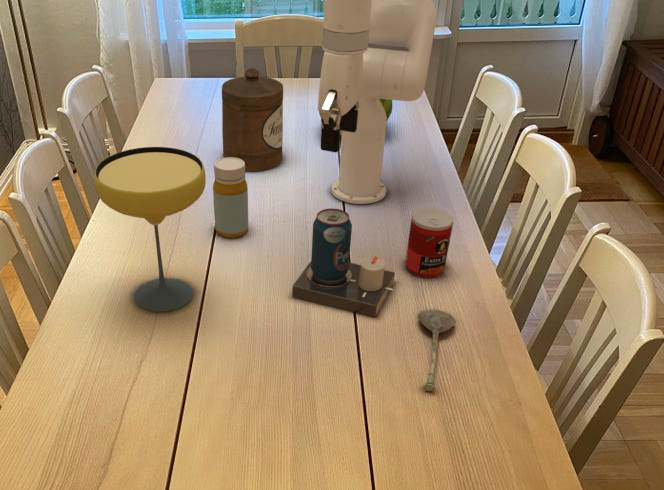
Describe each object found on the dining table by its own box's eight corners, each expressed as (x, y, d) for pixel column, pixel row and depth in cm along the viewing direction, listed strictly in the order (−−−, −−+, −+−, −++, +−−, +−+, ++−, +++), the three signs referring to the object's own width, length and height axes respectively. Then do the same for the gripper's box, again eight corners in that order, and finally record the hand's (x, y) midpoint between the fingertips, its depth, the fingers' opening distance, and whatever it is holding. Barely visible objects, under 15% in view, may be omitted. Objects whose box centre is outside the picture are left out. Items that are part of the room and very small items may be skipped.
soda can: (342, 287, 130) (347, 228, 123) (306, 280, 132) (308, 221, 124) (351, 267, 135) (356, 210, 128) (316, 261, 137) (319, 204, 129)
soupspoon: (455, 319, 129) (418, 315, 130) (457, 303, 127) (420, 299, 128) (449, 395, 112) (406, 389, 113) (451, 378, 110) (408, 372, 111)
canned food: (421, 282, 137) (429, 231, 130) (396, 262, 142) (403, 212, 135) (453, 272, 139) (462, 221, 133) (427, 253, 145) (436, 203, 138)
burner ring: (316, 259, 138) (316, 258, 138) (357, 269, 136) (357, 267, 135) (300, 281, 132) (300, 280, 132) (343, 292, 130) (343, 290, 129)
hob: (292, 297, 133) (292, 285, 131) (314, 265, 141) (315, 253, 140) (382, 319, 127) (383, 306, 126) (400, 285, 136) (402, 273, 134)
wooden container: (282, 172, 174) (283, 79, 160) (221, 171, 174) (217, 79, 161) (282, 147, 186) (283, 59, 172) (225, 147, 186) (221, 58, 172)
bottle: (244, 240, 149) (242, 172, 139) (211, 237, 150) (207, 169, 140) (251, 224, 154) (250, 157, 144) (220, 221, 155) (216, 155, 146)
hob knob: (378, 293, 129) (381, 270, 126) (355, 288, 130) (357, 265, 127) (385, 281, 132) (388, 258, 129) (362, 276, 134) (364, 253, 131)
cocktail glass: (124, 268, 140) (106, 145, 124) (216, 270, 140) (210, 146, 124) (105, 323, 126) (81, 192, 110) (207, 325, 126) (198, 194, 110)
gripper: (341, 23, 125) (335, 120, 135) (304, 50, 112) (301, 155, 123) (382, 28, 122) (373, 126, 133) (350, 56, 110) (343, 162, 121)
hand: (338, 140), depth 128 cm, fingers open, 9 cm apart
